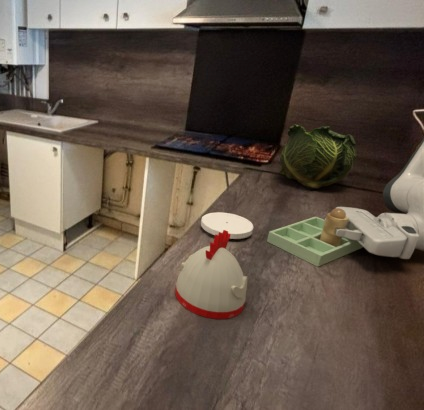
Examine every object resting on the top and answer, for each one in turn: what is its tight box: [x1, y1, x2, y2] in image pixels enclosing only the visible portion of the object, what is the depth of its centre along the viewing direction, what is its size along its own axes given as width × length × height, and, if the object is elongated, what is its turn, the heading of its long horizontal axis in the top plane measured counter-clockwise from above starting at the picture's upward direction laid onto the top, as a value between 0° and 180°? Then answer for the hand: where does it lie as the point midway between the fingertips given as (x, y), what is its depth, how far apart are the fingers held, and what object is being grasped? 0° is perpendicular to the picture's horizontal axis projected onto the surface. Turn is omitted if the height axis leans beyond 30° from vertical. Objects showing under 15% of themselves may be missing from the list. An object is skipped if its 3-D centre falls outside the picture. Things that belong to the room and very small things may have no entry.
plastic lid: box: [200, 211, 254, 240], centre depth 103 cm, size 14×14×2 cm
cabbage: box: [278, 124, 358, 191], centre depth 135 cm, size 25×24×23 cm
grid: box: [266, 216, 364, 268], centre depth 95 cm, size 14×21×3 cm
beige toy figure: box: [320, 207, 348, 247], centre depth 91 cm, size 4×4×10 cm
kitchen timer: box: [174, 230, 248, 320], centre depth 73 cm, size 14×14×15 cm
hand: (330, 226), depth 91 cm, fingers closed on beige toy figure, 4 cm apart
